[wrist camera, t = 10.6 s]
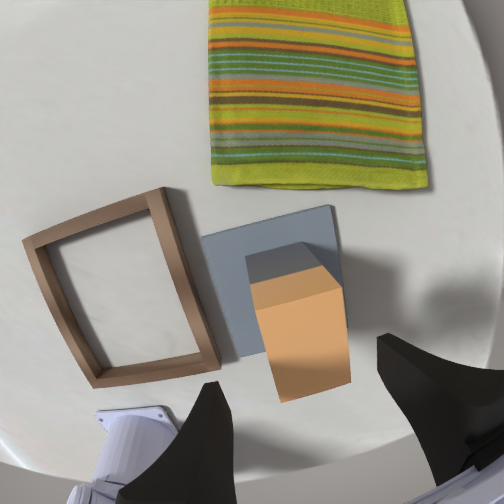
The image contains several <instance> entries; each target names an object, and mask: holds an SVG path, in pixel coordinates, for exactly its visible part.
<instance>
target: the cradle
mask: <svg viewBox="0 0 504 504" xmlns="http://www.w3.org/2000/svg"><path fill="white" fill-rule="evenodd" d="M148 208H149V210H150V213H151V216H152V219H153V223H154V226H155V229H156V232H157V235H158V238H159V241H160V245H161V248H162V251H163V254H164V257H165V259H166V262H167V265H168V268H169V271H170V274H171V277H172V280H173V282H174V285H175V288H176V291H177V293H178V296H179V299H180V302H181V304H182V307H183V310H184V312H185V315H186V317H187V320H188V323H189V325H190V328H191V330H192V333H193V335H194V338H195V340H196V343H197V345H198V348H199V350H200V353H195V354H190V355H185V356H180V357H174V358H169V359H164V360H158V361H152V362H146V363H140V364H134V365H128V366H121V367H114V368H107V369H101V367H100V365H99V363H98V362H97V360H96V358H95V356H94V355H93V353H92V351H91V349H90V347H89V345H88V343H87V342H86V340H85V338H84V336H83V334H82V332H81V330H80V328H79V326H78V324H77V322H76V320H75V318H74V315H73V313H72V311H71V309H70V307H69V305H68V303H67V300H66V298H65V296H64V293H63V291H62V289H61V286H60V284H59V282H58V279H57V277H56V274H55V272H54V269H53V267H52V264H51V261H50V259H49V256H48V253H47V250H46V248H45V245H46V244H48V243H51V242H54V241H56V240H59V239H61V238H64V237H67V236H69V235H72V234H75V233H78V232H80V231H83V230H86V229H89V228H92V227H94V226H97V225H100V224H103V223H106V222H109V221H112V220H115V219H118V218H121V217H124V216H127V215H130V214H133V213H136V212H139V211H142V210H145V209H148ZM22 242H23V245H24V248H25V251H26V254H27V257H28V259H29V262H30V265H31V267H32V270H33V272H34V275H35V277H36V280H37V282H38V285H39V287H40V289H41V292H42V294H43V296H44V299H45V301H46V303H47V305H48V307H49V310H50V312H51V314H52V316H53V318H54V320H55V322H56V324H57V326H58V328H59V330H60V332H61V334H62V336H63V338H64V340H65V342H66V343H67V345H68V347H69V349H70V351H71V353H72V354H73V356H74V358H75V360H76V361H77V363H78V365H79V366H80V368H81V370H82V371H83V373H84V375H85V376H86V378H87V380H88V381H89V383H90V384H91V386H92V387H93V389H96V388H106V387H115V386H124V385H132V384H140V383H147V382H154V381H160V380H167V379H173V378H179V377H184V376H190V375H195V374H201V373H206V372H211V371H216V370H221V356H220V354H219V351H218V349H217V346H216V343H215V341H214V338H213V335H212V332H211V330H210V327H209V324H208V322H207V319H206V316H205V313H204V310H203V308H202V305H201V302H200V299H199V296H198V293H197V290H196V287H195V285H194V282H193V279H192V276H191V273H190V270H189V267H188V264H187V260H186V257H185V254H184V251H183V248H182V245H181V242H180V239H179V235H178V232H177V229H176V226H175V222H174V219H173V216H172V212H171V209H170V206H169V202H168V199H167V195H166V192H165V188H164V187H161V188H158V189H155V190H152V191H149V192H145V193H142V194H139V195H136V196H133V197H130V198H127V199H125V200H122V201H119V202H116V203H113V204H110V205H107V206H105V207H102V208H99V209H96V210H94V211H91V212H88V213H86V214H83V215H80V216H78V217H75V218H73V219H70V220H68V221H65V222H63V223H60V224H58V225H55V226H53V227H50V228H48V229H46V230H43V231H41V232H38V233H36V234H34V235H32V236H29V237H27V238H25V239H23V240H22Z"/></svg>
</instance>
